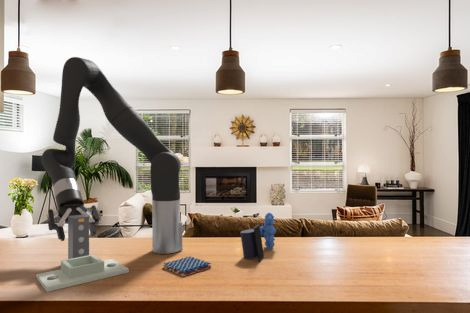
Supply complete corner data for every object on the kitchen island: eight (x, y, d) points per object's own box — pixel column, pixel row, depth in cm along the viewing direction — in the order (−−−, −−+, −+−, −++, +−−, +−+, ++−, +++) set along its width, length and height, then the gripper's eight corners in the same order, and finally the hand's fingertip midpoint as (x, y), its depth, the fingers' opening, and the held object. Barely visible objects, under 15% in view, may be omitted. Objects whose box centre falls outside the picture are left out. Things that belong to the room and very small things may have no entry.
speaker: (270, 257, 104) (266, 223, 105) (259, 262, 100) (255, 227, 100) (250, 254, 109) (247, 223, 109) (240, 260, 105) (236, 227, 105)
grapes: (257, 243, 122) (257, 210, 122) (275, 243, 122) (275, 210, 122) (257, 252, 110) (256, 216, 110) (277, 252, 110) (277, 216, 110)
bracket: (112, 262, 101) (112, 250, 101) (128, 272, 92) (128, 259, 92) (36, 278, 88) (36, 264, 88) (46, 291, 78) (46, 277, 79)
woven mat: (189, 261, 103) (189, 254, 103) (212, 269, 95) (212, 262, 95) (160, 269, 95) (160, 262, 95) (183, 279, 88) (183, 271, 88)
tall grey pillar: (83, 259, 103) (83, 214, 103) (89, 263, 99) (89, 216, 99) (68, 262, 100) (68, 216, 100) (73, 266, 96) (73, 218, 96)
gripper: (45, 189, 102) (54, 233, 93) (93, 186, 111) (106, 226, 102) (41, 204, 106) (50, 248, 97) (88, 200, 115) (100, 240, 106)
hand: (78, 237), depth 100 cm, fingers open, 8 cm apart
